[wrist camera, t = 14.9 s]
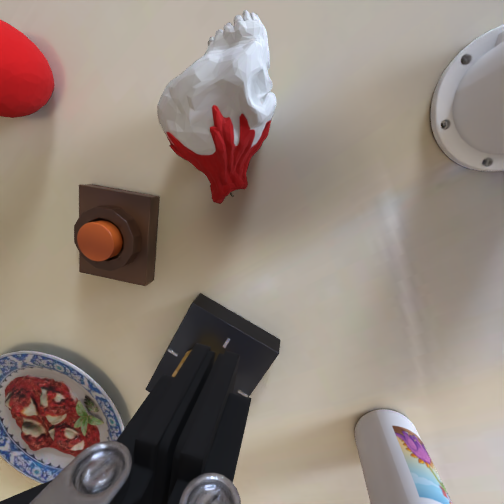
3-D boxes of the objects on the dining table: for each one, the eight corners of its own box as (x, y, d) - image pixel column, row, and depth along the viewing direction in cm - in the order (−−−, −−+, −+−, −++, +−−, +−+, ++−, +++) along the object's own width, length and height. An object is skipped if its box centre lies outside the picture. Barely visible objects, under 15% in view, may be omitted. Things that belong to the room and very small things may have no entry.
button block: (91, 184, 35) (66, 184, 31) (159, 196, 34) (142, 198, 30) (91, 267, 38) (68, 276, 34) (154, 280, 37) (137, 291, 33)
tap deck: (200, 293, 36) (191, 303, 33) (280, 339, 36) (279, 354, 33) (155, 374, 40) (144, 390, 37) (227, 416, 40) (222, 435, 37)
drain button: (88, 217, 32) (76, 218, 30) (123, 224, 31) (114, 226, 30) (87, 253, 33) (76, 257, 31) (122, 260, 33) (113, 264, 31)
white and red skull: (268, 34, 28) (288, 186, 33) (163, 61, 29) (197, 201, 34) (260, -14, 19) (288, 200, 24) (114, 28, 21) (168, 219, 26)
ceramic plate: (9, 467, 50) (-8, 485, 47) (-30, 339, 44) (-53, 350, 41) (143, 485, 46) (133, 506, 43) (120, 347, 40) (106, 360, 37)
